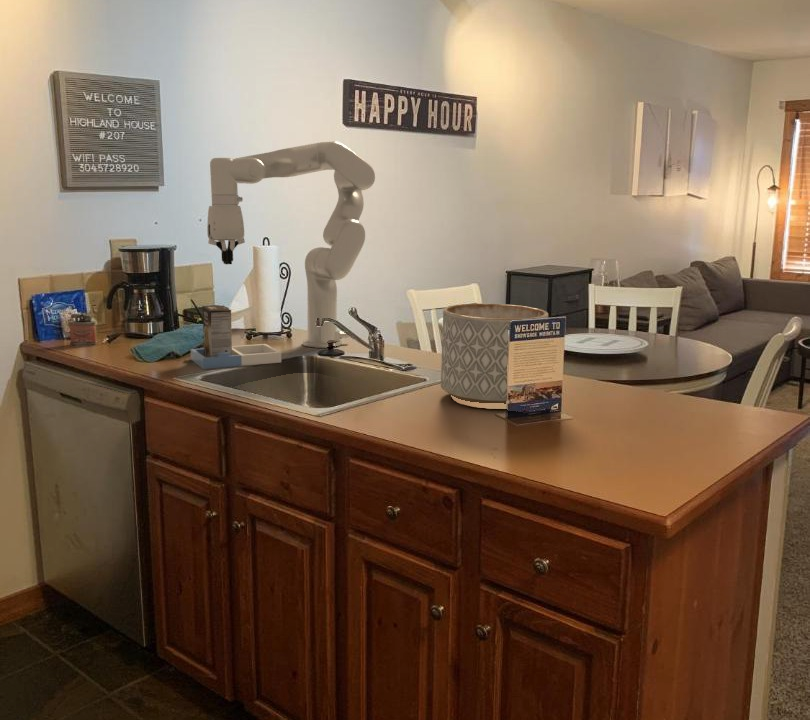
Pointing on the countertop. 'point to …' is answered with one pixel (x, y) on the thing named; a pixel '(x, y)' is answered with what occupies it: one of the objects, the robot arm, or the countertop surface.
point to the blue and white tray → (238, 356)
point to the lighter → (82, 330)
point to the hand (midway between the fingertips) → (227, 263)
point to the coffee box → (217, 330)
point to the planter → (479, 349)
